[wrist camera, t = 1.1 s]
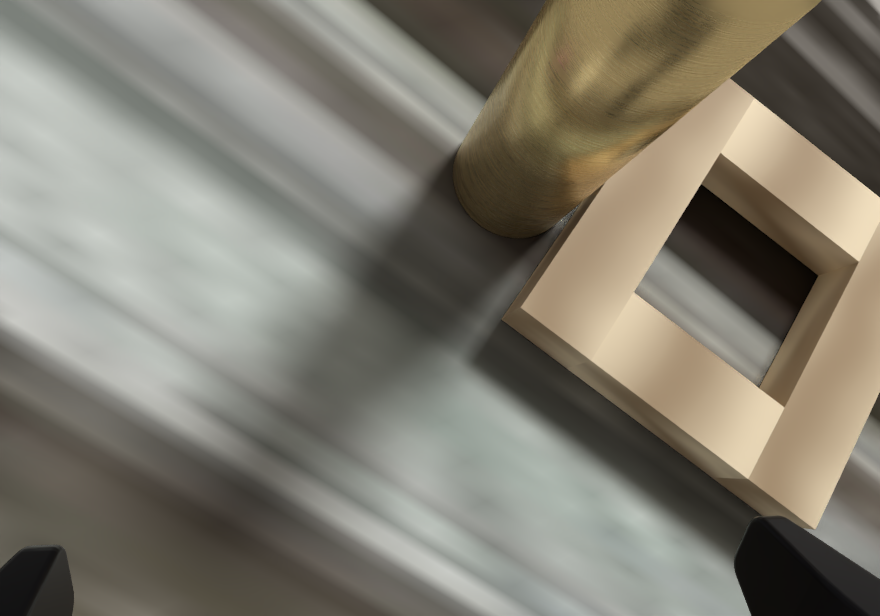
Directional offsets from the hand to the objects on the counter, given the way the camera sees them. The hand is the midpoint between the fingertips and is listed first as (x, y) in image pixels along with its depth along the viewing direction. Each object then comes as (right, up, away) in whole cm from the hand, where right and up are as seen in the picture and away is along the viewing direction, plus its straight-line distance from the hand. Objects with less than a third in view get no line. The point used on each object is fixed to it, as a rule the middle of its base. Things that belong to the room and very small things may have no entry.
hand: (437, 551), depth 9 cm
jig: (+10, +4, +17) cm, 20 cm away
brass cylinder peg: (+3, +8, +16) cm, 18 cm away
